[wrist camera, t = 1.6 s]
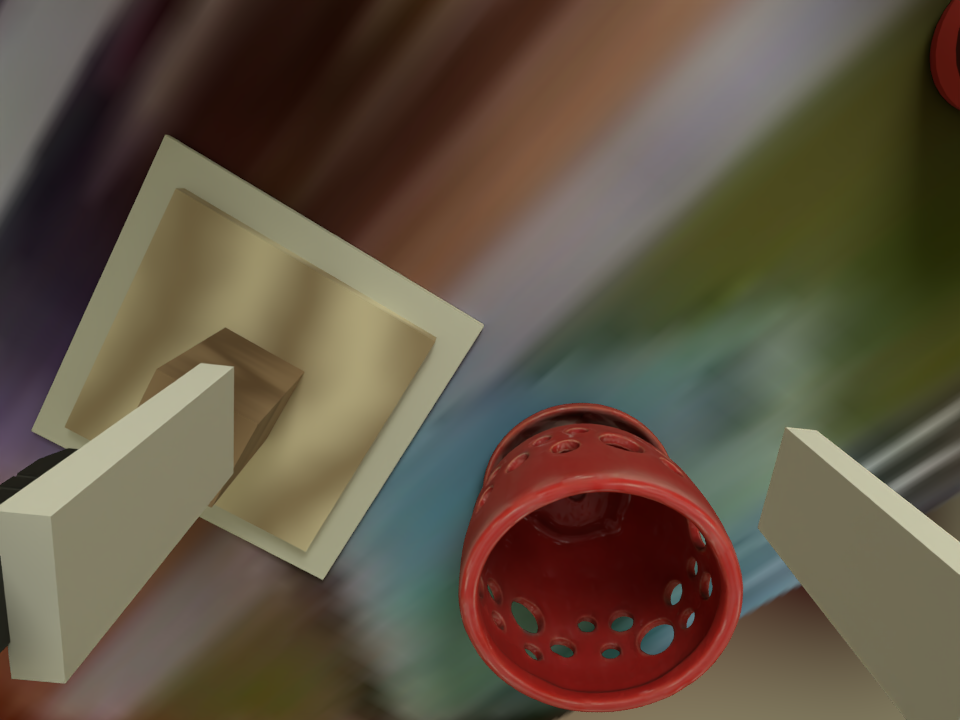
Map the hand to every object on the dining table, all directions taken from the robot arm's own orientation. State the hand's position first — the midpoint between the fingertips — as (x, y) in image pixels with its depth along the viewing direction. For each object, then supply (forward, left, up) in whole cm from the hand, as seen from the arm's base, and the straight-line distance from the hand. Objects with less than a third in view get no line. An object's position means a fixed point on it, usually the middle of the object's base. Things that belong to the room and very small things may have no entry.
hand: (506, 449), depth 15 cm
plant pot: (+11, -8, -23) cm, 27 cm away
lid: (-9, -12, -22) cm, 27 cm away
